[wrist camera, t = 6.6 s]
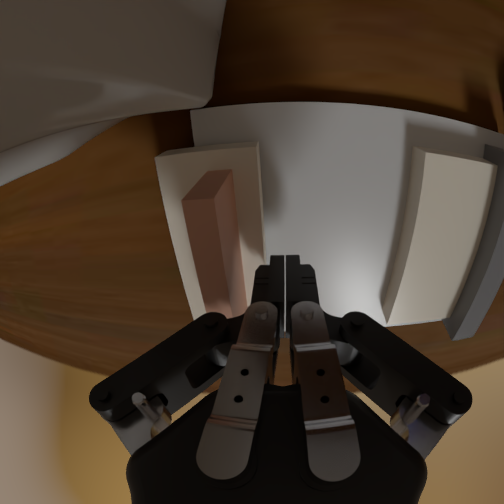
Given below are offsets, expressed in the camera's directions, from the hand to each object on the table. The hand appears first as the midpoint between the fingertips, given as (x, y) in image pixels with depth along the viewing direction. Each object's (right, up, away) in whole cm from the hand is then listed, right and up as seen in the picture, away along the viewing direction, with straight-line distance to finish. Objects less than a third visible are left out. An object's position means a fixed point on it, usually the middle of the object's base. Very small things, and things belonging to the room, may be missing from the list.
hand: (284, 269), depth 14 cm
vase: (-7, +13, -3) cm, 15 cm away
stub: (-3, +1, +2) cm, 4 cm away
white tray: (+6, +2, +2) cm, 6 cm away
